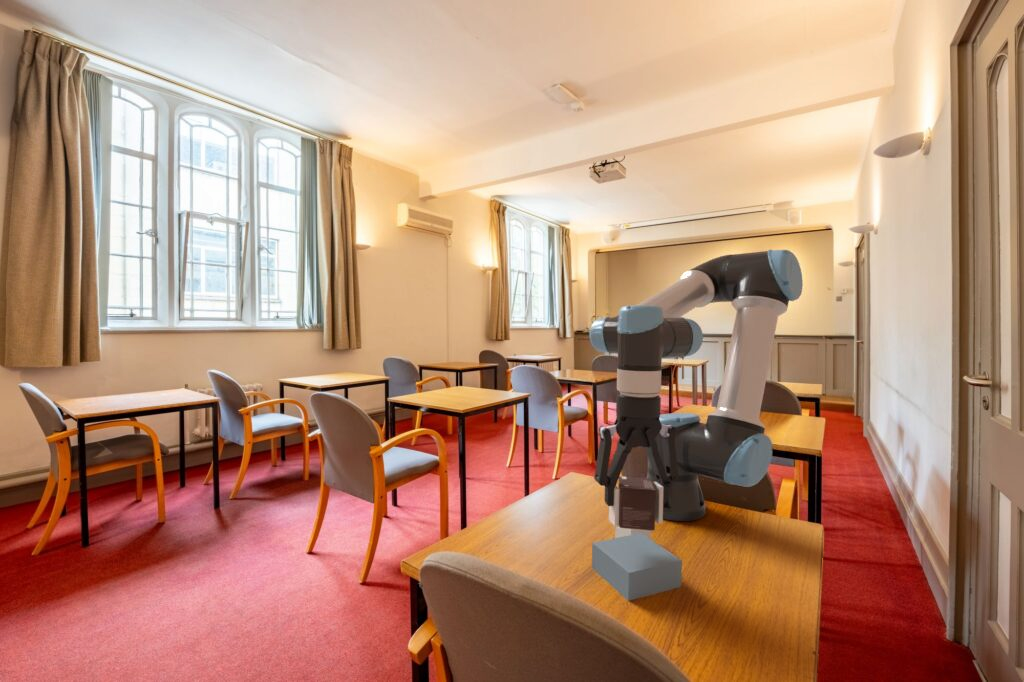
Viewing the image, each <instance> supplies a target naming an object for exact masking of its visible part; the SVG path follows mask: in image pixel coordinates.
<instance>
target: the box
mask: <svg viewBox="0 0 1024 682" xmlns="http://www.w3.org/2000/svg"><path fill="white" fill-rule="evenodd" d="M617 483H618V486H617V487H618V488H619V489H620V496H619V527H620V528H626V529H639V530H648V531H649V530H650V531H651V532H653V531H655V530H656V528H655V527H656V526H655V525H656V524H655V523H656V521H655V491H656V490H655V486H654V484H653V481H652V479H651V478H646V477H636V476H635V477H633V476H619V479H618V482H617Z"/></svg>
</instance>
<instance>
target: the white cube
mask: <svg viewBox="0 0 1024 682" xmlns="http://www.w3.org/2000/svg"><path fill="white" fill-rule="evenodd" d="M651 532H652V531H650V530H649V531H648V530H639V529H626V528H620V527H619V526H614V538H619V537H624V536H629V535H634V534H639V533H642V534H643V535H645V536H646V537H648V538H649V539H651V540H652V538H651V536H652V533H651Z"/></svg>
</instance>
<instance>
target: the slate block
mask: <svg viewBox="0 0 1024 682" xmlns="http://www.w3.org/2000/svg"><path fill="white" fill-rule="evenodd" d="M591 546H592V547H591V569H593V571H595V572H596V573H597V574H598V575H599V576H600V577H601V578H602V579H604V580H605V581H606V582H607V583H608V584H609V585H610V586H611V587H612V588H613V589H615V591H617V592H618V593H619V594H620V595H621V596H622V597H623V598H624V599H626V601H628V602H629V601H630V602H631V601H634V600H637V599H640V598H641V599H642V598H645V597H647V596H651V595H655V594H659V593H663V592H668V591H671V590H674V589H678V588H681V587H682V570H683V568H682V566H683V560H682V559H681V558H679V557H678V556H677V555H675V554H673V553H672V552H670V551H668V550H667V549H666V548H664V547H663V546H662V545H660V544H659V543H657V542H656V541H654V540H653V539H652V538H651V539H649V538H648V537H646V536H645V535H643V534H642V533H639V534H634V535H629V536H624V537H619V538H615V537H614V538H610V539H604V540H600V541H595V542H591Z"/></svg>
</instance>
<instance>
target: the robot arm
mask: <svg viewBox="0 0 1024 682" xmlns="http://www.w3.org/2000/svg"><path fill="white" fill-rule="evenodd" d="M802 293H803V274H802V269H801V264H800V263H799V260H798V258H797V256H796V255H795V253H793V252H792V251H790V250H789V249H768V250H764V251H756V252H745V253H744V252H743V253H735V254H725V255H721V256H718V257H715V258H712V259H710V260H707V261H705V262H702V263H700V264H699V265H696V266H695V267H693V268H690V269H689V270H688V271H686V272H684V273H683V274H682V275H681V276H680V277H679V279H678V281H676V282H675V283H673V284H671V285H669V286H668V287H665V288H664V289H663V290H662V289H661V291H659V292H657V293H655V294H653V295H651V296H650V297H648V298H646V299H645V300H643V301H641V302H639V303H638V304H636V305H633V304H632V305H630V304H629V305H623V306H622V307H620V309H619V311H618V315H616V316H613V317H610V316H606V317H599V318H597V319H595V320H594V321H593V322H592V324H591V326H590V328H589V335H588V336H589V341H590V344H591V346H592V348H594V350H595V351H597V352H599V353H600V352H601V353H607V354H611V355H612V354H617V365H616V366H617V367H616V390H617V391H618V392H619V393H618V394H617V395H616V396H615V397H616V400H615V401H616V402H615V403H616V404H615V408H616V409H615V414H616V417H615V418H616V419H615V421H614V423H613V424H612V425H608V426H604V425H600V426H599V427H598V433H599V446H598V452H597V459H596V465H595V471H594V478H593V479H594V480H595V482H597V483H598V485H600V486H603V487H604V503H605V504H606V506H608V521H609V522H610V524H612V525H613V527H615V526H619V496H620V489H619V488H618V486H617V483H618V482H619V477H621V474H622V471H623V469H624V466H625V463H626V461H627V459H628V456H629V454H630V453H631V452H632V450H633V448H638V447H642V448H644V449H645V452H646V454H647V475H646V477H645V478H651V479H652V481H653V484H654V486H655V490H656V491H655V523H657V524H663V521H664V520H667V521H675V522H689V521H691V522H692V521H697V520H700V519H702V518H704V517H705V515H706V502H705V501H706V500H705V499H704V494H703V492H702V489H701V485H700V482H699V475H700V476H703V477H706V478H709V479H710V478H711V479H713V480H716V481H721V482H723V483H726V484H728V485H735V486H741V487H744V488H745V487H746V488H748V487H749V488H750V487H754V486H755V485H757V484H758V483H760V481H761V480H762V479H763V478H764V477H765V476H766V473H767V472H768V469H769V468H770V464H771V462H772V457H773V442H772V439H771V438H770V437H769V435H767V434H766V433H765V430H766V427H765V425H764V424H763V422H762V421H761V420H760V415H761V414H760V413H761V409H762V403H763V400H764V399H763V398H764V393H765V388H766V382H767V377H768V371H769V368H770V367H769V366H770V360H771V356H772V351H773V345H774V342H775V341H774V339H775V335H776V329H777V324H778V319H779V316H781V315H783V314H785V313H786V312H787V311H788V307H789V303H790V302H795V301H797V300H799V299H800V296H801V295H802ZM726 302H727V303H729V302H730V303H731V306H732V307H733V308H734V310H735V311H736V314H735V319H734V324H733V329H732V333H731V339H730V343H729V347H728V352H727V358H726V363H725V368H724V370H723V371H724V372H723V376H722V382H721V386H720V391H719V397H718V400H717V406H716V409H715V410H713V411H712V412H709V413H707V419H706V422H705V423H704V422H701V418H700V415H698V414H696V413H692V412H691V413H690V412H689V413H688V412H687V413H686V412H685V413H684V412H676V413H674V412H673V413H662V414H661V409H662V408H661V406H662V403H661V400H662V397H660V395H658V394H661V392H662V360H663V359H669V358H671V359H672V358H679V359H683V358H685V357H690V356H693V355H694V354H696V353H697V352H698V351H699V350H700V349H701V346H702V345H703V339H704V335H703V330H702V328H701V326H700V325H699V323H697V321H695V320H693V319H691V318H686V317H683V316H684V315H686V314H688V313H689V312H691V311H692V310H694V309H695V308H703V307H706V306H708V305H709V304H715V303H726ZM615 433H616V434H617V436H618V437H619V438H618V440H617V442H616V449H615V452H614V455H613V457H612V459H611V453H612V452H611V451H612V442H613V440H612V439H614V438H615ZM610 459H611V461H610ZM609 463H610V464H609Z"/></svg>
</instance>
